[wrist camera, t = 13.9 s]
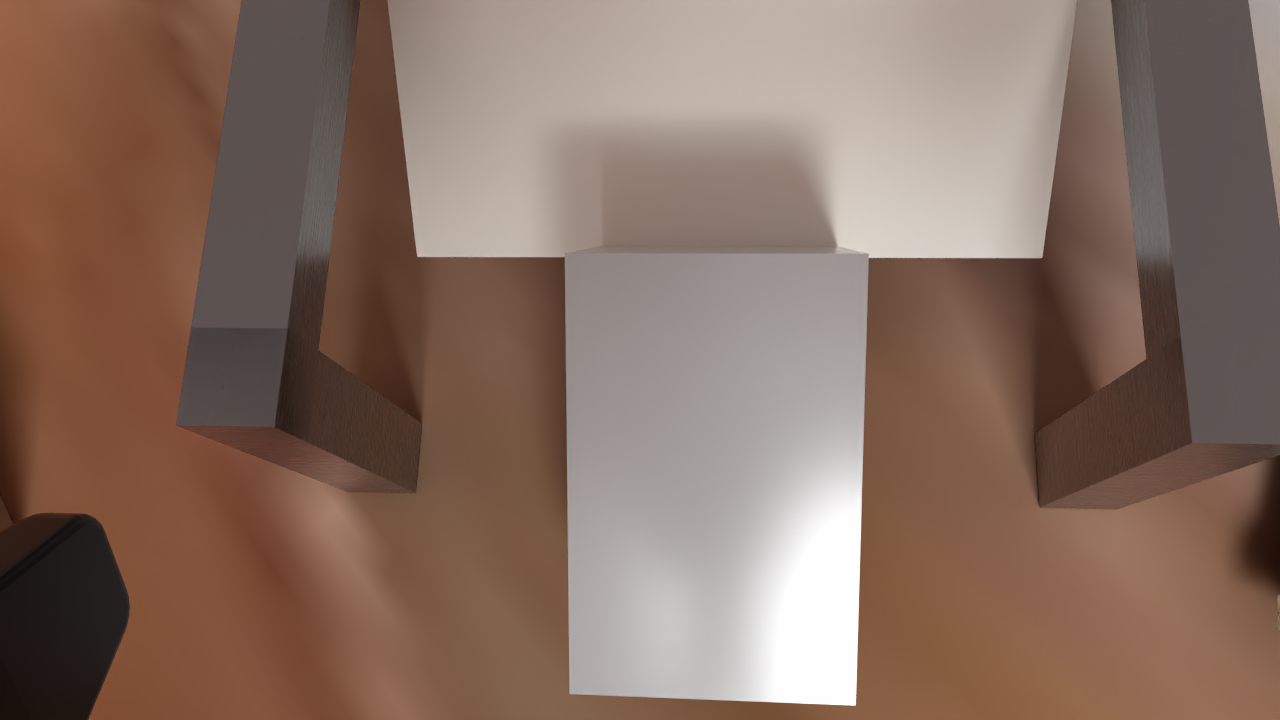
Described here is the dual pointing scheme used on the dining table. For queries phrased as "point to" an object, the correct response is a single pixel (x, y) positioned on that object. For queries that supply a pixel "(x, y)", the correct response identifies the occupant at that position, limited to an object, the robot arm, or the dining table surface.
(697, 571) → the gray rectangular block
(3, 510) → the stand
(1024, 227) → the trapdoor
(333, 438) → the frame
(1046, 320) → the dining table surface
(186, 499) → the dining table surface
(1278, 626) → the rock fragment
